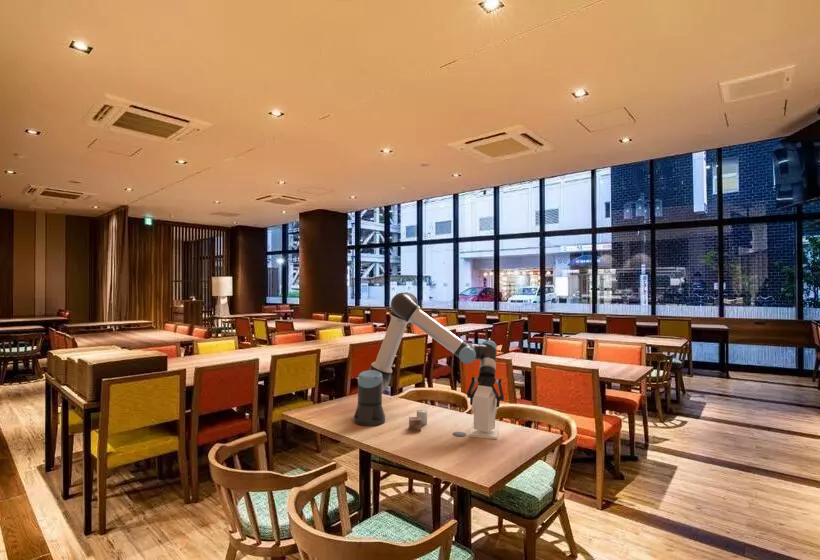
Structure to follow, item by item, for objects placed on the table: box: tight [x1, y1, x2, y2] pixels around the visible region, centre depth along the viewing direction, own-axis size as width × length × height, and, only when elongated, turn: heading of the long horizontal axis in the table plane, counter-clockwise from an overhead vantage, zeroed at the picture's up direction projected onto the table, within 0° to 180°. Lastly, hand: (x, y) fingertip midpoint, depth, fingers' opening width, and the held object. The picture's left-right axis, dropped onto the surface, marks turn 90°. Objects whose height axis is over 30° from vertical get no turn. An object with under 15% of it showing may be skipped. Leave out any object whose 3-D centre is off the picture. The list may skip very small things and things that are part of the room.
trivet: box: [469, 425, 500, 440], centre depth 193 cm, size 12×12×1 cm
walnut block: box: [408, 416, 422, 432], centre depth 197 cm, size 5×5×5 cm
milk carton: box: [473, 384, 496, 432], centre depth 193 cm, size 7×7×19 cm
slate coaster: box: [452, 431, 467, 438], centre depth 191 cm, size 6×6×1 cm
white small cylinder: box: [416, 409, 428, 427], centre depth 205 cm, size 5×5×6 cm
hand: (483, 412), depth 190 cm, fingers closed on milk carton, 9 cm apart
